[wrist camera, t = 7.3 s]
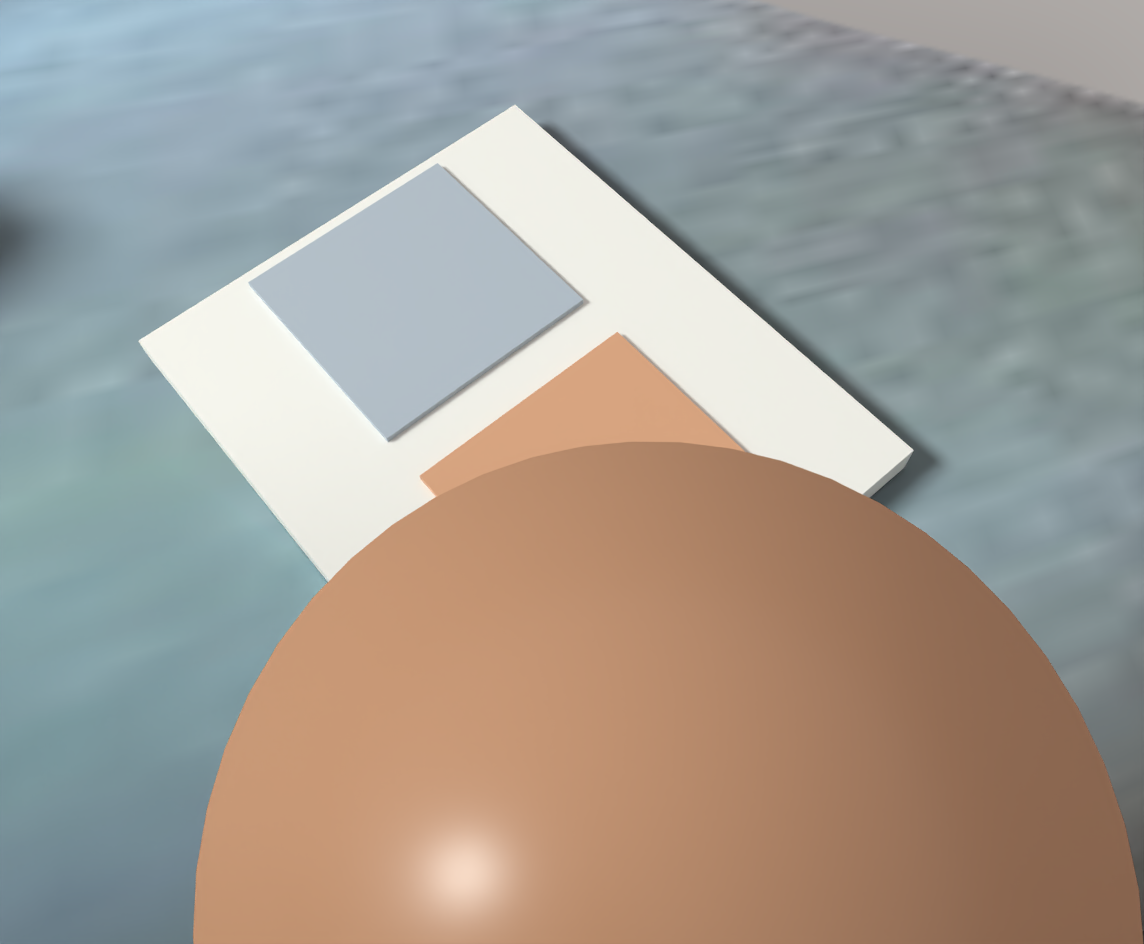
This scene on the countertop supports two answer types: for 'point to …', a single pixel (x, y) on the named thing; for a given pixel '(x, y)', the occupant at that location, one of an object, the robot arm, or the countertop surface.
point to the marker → (660, 731)
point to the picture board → (489, 347)
